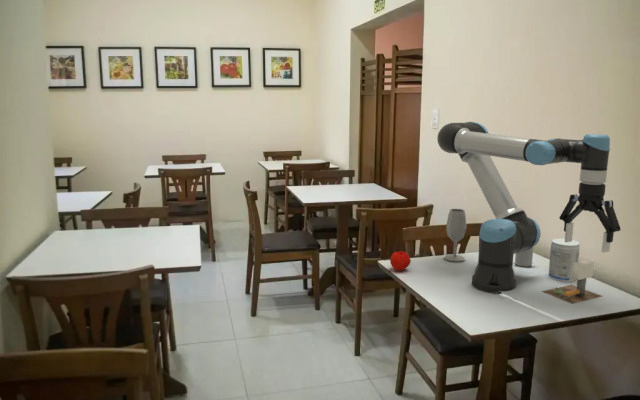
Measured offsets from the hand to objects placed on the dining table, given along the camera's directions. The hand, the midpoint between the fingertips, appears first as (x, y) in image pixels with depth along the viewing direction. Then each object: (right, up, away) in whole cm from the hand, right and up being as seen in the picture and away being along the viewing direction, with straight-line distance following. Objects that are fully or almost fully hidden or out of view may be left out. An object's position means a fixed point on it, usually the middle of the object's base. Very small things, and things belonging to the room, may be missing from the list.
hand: (586, 246), depth 169 cm
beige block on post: (-2, -16, +3) cm, 17 cm away
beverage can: (-6, -11, +38) cm, 40 cm away
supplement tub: (+2, -14, +21) cm, 26 cm away
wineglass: (-32, -10, +45) cm, 56 cm away
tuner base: (-2, -17, +5) cm, 18 cm away
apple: (-57, -12, +31) cm, 66 cm away
